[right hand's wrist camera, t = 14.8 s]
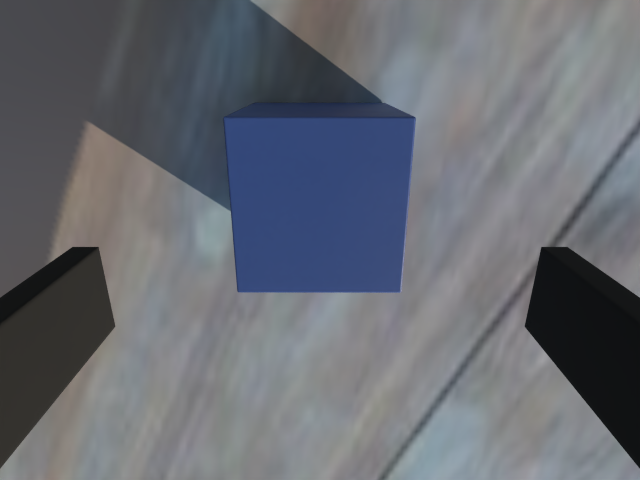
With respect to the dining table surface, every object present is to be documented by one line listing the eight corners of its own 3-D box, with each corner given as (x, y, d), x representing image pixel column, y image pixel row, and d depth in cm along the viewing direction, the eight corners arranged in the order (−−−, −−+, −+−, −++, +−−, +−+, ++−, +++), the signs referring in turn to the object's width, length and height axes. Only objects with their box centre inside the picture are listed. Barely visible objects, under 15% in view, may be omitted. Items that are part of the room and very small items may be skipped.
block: (385, 102, 26) (416, 116, 18) (378, 231, 30) (401, 293, 21) (253, 102, 26) (222, 116, 18) (260, 230, 30) (237, 293, 21)
